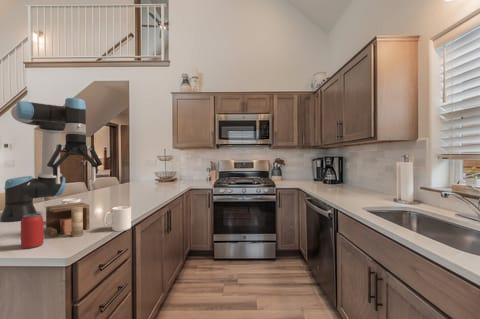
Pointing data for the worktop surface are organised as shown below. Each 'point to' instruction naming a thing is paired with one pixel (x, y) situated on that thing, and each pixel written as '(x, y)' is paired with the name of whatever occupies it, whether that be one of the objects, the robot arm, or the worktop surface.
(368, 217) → the worktop surface
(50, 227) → the cubby shelf
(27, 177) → the robot arm
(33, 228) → the beer can
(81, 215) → the tethered cylinder
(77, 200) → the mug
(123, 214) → the cup
